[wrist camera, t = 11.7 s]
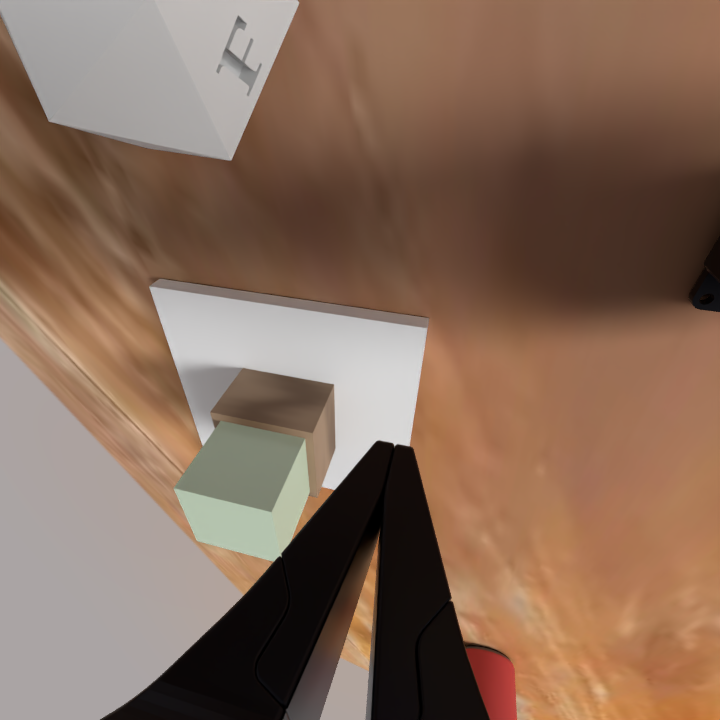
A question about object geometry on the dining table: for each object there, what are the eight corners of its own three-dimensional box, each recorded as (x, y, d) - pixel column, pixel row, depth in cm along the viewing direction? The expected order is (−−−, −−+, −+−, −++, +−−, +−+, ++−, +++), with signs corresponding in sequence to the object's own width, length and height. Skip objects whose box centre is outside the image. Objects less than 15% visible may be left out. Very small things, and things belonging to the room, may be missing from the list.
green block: (305, 438, 22) (271, 512, 18) (309, 492, 25) (281, 563, 22) (220, 420, 23) (173, 488, 19) (235, 474, 26) (197, 541, 22)
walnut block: (334, 384, 24) (312, 433, 21) (335, 448, 28) (317, 497, 25) (242, 367, 26) (210, 412, 22) (255, 431, 29) (229, 477, 26)
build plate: (429, 318, 21) (427, 328, 21) (402, 493, 31) (400, 504, 30) (159, 278, 24) (149, 286, 23) (213, 451, 34) (207, 460, 33)
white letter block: (209, 172, 20) (249, 236, 13) (-21, 49, 15) (-161, 45, 8) (284, -7, 17) (384, -47, 10) (37, -233, 12) (-97, -618, 5)
